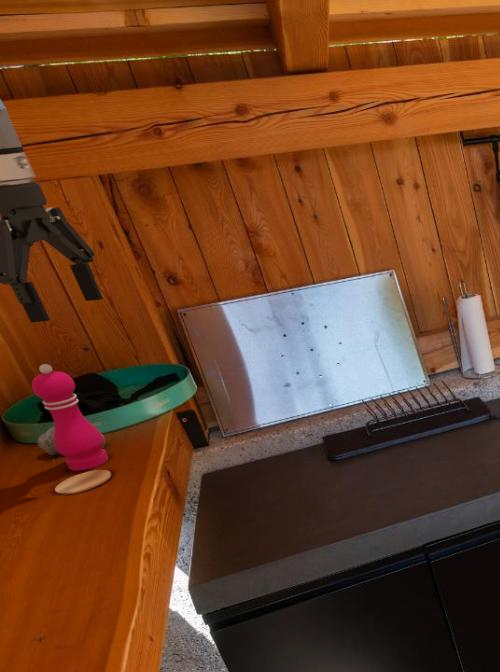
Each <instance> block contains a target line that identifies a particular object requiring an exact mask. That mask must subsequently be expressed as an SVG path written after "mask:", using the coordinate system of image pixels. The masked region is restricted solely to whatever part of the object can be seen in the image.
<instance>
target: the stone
mask: <svg viewBox="0 0 500 672" xmlns="http://www.w3.org/2000/svg"><path fill="white" fill-rule="evenodd" d="M54 432H55V425H53V426H51V427H50V428H48V430H47V431H46V432H44V433H43V434H41V435H39V437H38V439H37V446H38V447H39V448H40V449H41V450H43V451H45V452H46V453H47V454H48V455H50V456H59V455H61V454H60V453H58V452H57V450H56V447H55V445H54ZM101 435H102V437H103V439H104V442H103V445H102V447H101V449H104V448H105V446H106V437H105V436H104V434H102V433H101Z"/></svg>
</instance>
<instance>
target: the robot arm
mask: <svg viewBox="0 0 500 672" xmlns="http://www.w3.org/2000/svg"><path fill="white" fill-rule="evenodd" d="M34 178H36V174H35V171H34V170H33V168H32V166H31V163H30V160H29V159H28V157H27V154H26V153H25V150H24V148H23V146H22V143H21V141H20V139H19V136H18V134H17V132H16V129H15V127H14V125H13V122H12V120H11V118H10V116H9V112H8V109H7V107H6V106H5V105H4V103H3V101H2V99H1V98H0V284H2V285H4V286H6V285H7V286H8V285H9V286H10V287H11V289H12V291H13V293H14V295H15V297H16V299H17V301H18V303H19V304H21V305H22V307H23V309H24V311H25V313H26V315H27V317H28V319H29V321H30V323H41V322H42V323H43V322H48V321H51V318H50V316H49V313H48V312H47V310H46V308H45V306H44V304H43V301H42V299H41V298H40V295H39V293H38V291H37V290H36V287H35V285H34V283H33V281H27V278H28V269H29V261H30V255H31V254H30V253H31V248H32V247H33V246H34V244H35V243H38V242H40V241H44V242H46V244H48V245H49V246H51V247H52V248H54V249H55V250H56V251H57V252H59V253H60V254H61V255H63V256H64V257H65V258H66V259H67V260H69V261H70V262H71V263H72V264H70V265H69V268H70V269H71V272H72V274H73V275H74V278H75V280H76V283H77V285H78V287H79V289H80V291H81V294H82V296H83V298H84V300H85V302H90V301H100V300H103V299H104V297H103V294H102V292H101V291H100V288H99V286H98V284H97V282H96V277H95V274H94V273H93V270H92V268H91V266H90V263H93V262H94V261H95V260H94V257H95V252H94V250H93V249H92V248H91V246H89V244H88V243H87V242H86V241H85V240H84V239H83V238H82V236H81V235H80V234H79V233H78V232H77V230H76V229H75V228H74V227H73V226H72V224H71V223H70V222H69V221H68V220H67V218H66V216H65V214H64V212H63V210H62V209H61V208H60V207H59V206H54V207H53V206H52V207H44V206H46V205H47V204H48V199H47V197H46V195H45V193H44V191H43V189H42V186H41V184H40V183H39V182H38V181H34V180H33V179H34Z"/></svg>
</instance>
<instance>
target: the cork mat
mask: <svg viewBox="0 0 500 672" xmlns="http://www.w3.org/2000/svg"><path fill="white" fill-rule="evenodd" d="M111 477H112V472H111V471H110V470H107V469H95V470H90V471H89V470H88V471H84V472H83V473H82V472H81V473H79V474H76V475H73V476H71V477H68V478H66V479H65V480H62V481H61V482H60V483H59V484H57V485H56V486H55V488H54V491H55V493H56V494H58V495H62V496H64V495H65V496H66V495H75V494H79V493H83V492H86V491H88V490H92V489H94V488H97V487H98V486H100V485H103V484H104V483H106V482H107V481H109V480H110V478H111Z"/></svg>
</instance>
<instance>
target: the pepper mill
mask: <svg viewBox="0 0 500 672" xmlns="http://www.w3.org/2000/svg"><path fill="white" fill-rule="evenodd" d="M38 369H39V372H40V373H39V374H38V375H36V376H35V377H34V378H33V379H32V381H31V390H32V392H33V393H34V395H35V396H36V397H38V398H39V399H42V402H41V403H42V404H43V405H44V409H45V410H48V411H49V413H50V414H51V417H52V419H53V426H55V432H54V445H55V447H56V450H57V452H58V453H60V454H59V455H61V456H64V457H66V458H65V460H64V461H65V463H66V466H67V468H68V469H69V470H70V471H73V472H74V471H75V472H79V471H88V470H92V469H94V468H98V467H100V466H101V465H103V464H104V463H106V462H107V461H108V460H109V456H108V454H107V452H106V451H107V450H106V449H104V448H102V449H101V447H102V445H103V442H104V439H103V437H102V435H101V434H102V433H101V432H100V430H98V428H97V427H96V426H95V425H93V424H92V423H91V422H90V421H89V420H87V418H86V417H85V416H84V415H83V414H82V413H83V412H81V409H80V408H79V405H78V403H79V399H78V398H77V394H76V393H74V391H75V389H76V384H75V381H74V379H73V378H72V376H70V375H69V374H68V373H66V372H63V371H58V370H53V367H52V366H51V365H50V364H47V363H43V364H41V365H39V368H38Z"/></svg>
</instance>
